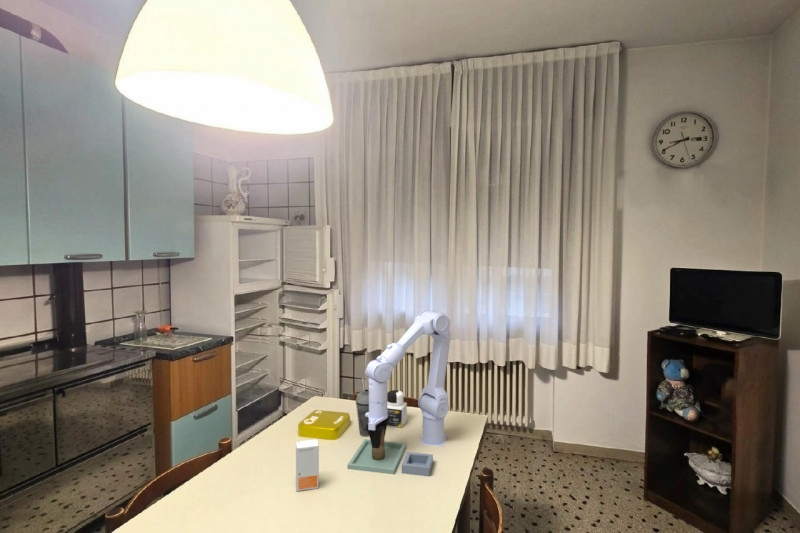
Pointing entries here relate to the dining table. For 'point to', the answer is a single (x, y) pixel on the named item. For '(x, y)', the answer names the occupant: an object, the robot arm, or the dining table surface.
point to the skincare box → (307, 465)
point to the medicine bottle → (396, 409)
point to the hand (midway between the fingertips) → (378, 443)
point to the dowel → (379, 450)
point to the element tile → (324, 425)
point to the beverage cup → (363, 410)
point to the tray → (387, 465)
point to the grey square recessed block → (417, 464)
